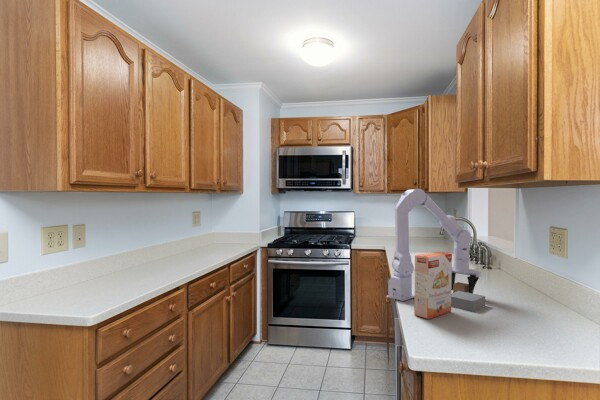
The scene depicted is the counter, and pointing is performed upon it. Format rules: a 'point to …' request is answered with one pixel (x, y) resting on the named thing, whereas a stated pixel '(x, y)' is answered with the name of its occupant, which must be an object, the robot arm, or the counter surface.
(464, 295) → the slate block
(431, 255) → the cracker box
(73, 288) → the counter surface
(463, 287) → the walnut block
